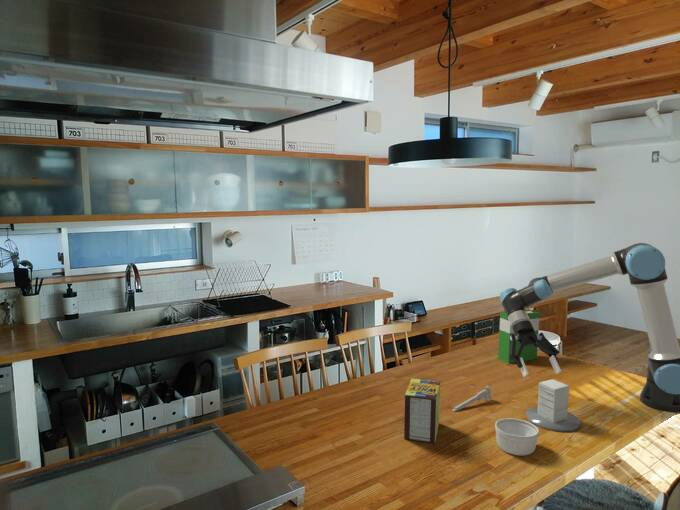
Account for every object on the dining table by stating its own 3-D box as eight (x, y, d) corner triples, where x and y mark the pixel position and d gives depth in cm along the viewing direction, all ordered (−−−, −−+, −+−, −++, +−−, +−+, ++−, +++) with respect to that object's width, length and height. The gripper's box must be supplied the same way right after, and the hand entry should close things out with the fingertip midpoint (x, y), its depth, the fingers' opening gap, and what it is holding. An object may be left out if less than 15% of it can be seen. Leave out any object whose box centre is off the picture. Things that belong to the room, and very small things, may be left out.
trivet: (585, 418, 178) (585, 415, 178) (573, 437, 164) (573, 434, 163) (534, 405, 189) (534, 402, 188) (519, 421, 174) (519, 419, 174)
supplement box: (550, 411, 181) (552, 378, 179) (567, 419, 174) (569, 385, 173) (536, 415, 178) (538, 381, 176) (553, 423, 171) (555, 389, 170)
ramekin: (503, 433, 166) (504, 414, 165) (543, 446, 158) (544, 425, 157) (487, 448, 156) (488, 428, 155) (529, 463, 147) (530, 441, 147)
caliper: (488, 399, 194) (489, 384, 193) (490, 400, 193) (491, 385, 192) (451, 411, 183) (452, 395, 182) (454, 412, 182) (454, 396, 181)
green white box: (526, 355, 249) (528, 309, 246) (536, 359, 242) (539, 312, 240) (498, 358, 243) (500, 311, 240) (508, 363, 236) (510, 315, 233)
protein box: (439, 423, 173) (440, 381, 171) (435, 444, 158) (436, 398, 157) (410, 419, 176) (411, 377, 174) (403, 439, 161) (404, 394, 159)
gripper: (544, 327, 199) (566, 375, 186) (488, 330, 194) (508, 380, 181) (553, 317, 193) (577, 367, 180) (496, 321, 188) (516, 372, 175)
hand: (542, 374), depth 181 cm, fingers open, 13 cm apart
